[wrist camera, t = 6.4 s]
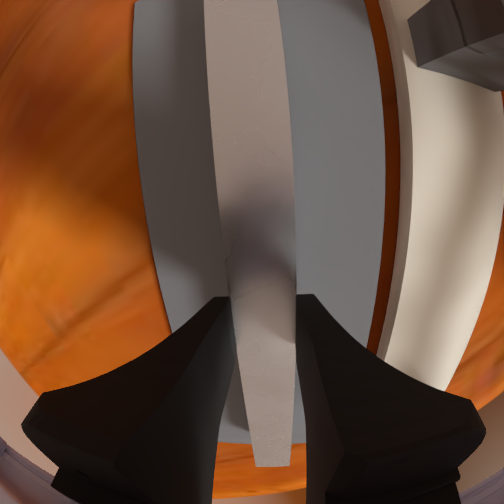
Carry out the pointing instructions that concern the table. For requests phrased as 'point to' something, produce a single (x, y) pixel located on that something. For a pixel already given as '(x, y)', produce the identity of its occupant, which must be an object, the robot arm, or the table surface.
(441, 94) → the hook stand
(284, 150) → the rail
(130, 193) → the table surface
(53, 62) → the table surface
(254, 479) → the table surface
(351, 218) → the mat
